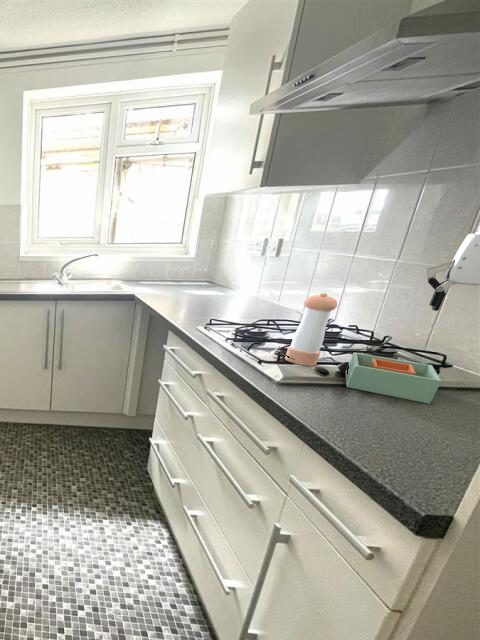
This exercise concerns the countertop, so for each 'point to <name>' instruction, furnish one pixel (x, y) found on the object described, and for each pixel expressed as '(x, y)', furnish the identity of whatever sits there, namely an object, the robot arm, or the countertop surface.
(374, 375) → the big bin
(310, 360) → the pepper shaker
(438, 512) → the countertop surface
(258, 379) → the countertop surface
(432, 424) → the countertop surface
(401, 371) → the small bin
